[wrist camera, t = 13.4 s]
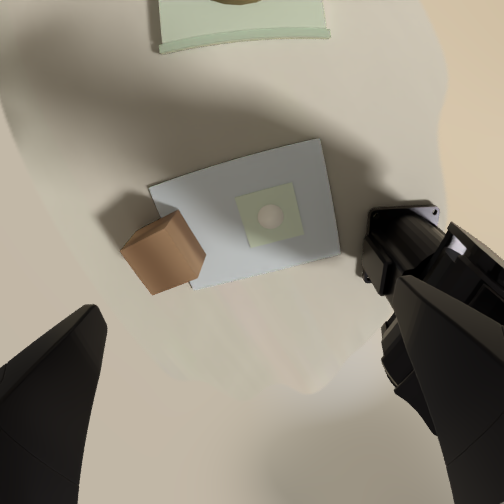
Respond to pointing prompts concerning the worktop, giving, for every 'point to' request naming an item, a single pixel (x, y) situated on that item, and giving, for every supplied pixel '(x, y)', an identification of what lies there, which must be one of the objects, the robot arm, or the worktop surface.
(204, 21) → the baseplate
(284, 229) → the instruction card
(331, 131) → the worktop surface
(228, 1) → the cork
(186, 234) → the brick
